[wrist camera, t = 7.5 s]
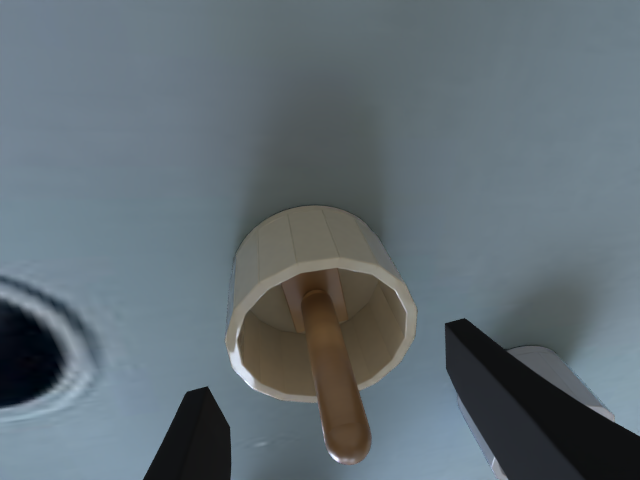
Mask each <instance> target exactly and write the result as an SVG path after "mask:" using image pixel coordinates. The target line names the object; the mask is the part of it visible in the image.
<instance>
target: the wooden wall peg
mask: <svg viewBox="0 0 640 480" xmlns="http://www.w3.org/2000/svg"><path fill="white" fill-rule="evenodd" d="M281 286H282V289H283V292H284V295H285V299H286V302H287V305H288V308H289V311H290V314H291V317H292V321H293V324H294V327H295V330H296V332H297V333H300V332H304V331H305V333H306V339H307V344H308V350H309V356H310V361H311V367H312V373H313V378H314V384H315V390H316V395H317V401H318V407H319V412H320V418H321V424H322V429H323V435H324V441H325V445H326V449H327V450H328V452H329V454H330V456H331V457H332V458H333V459H334V460H336V461H337V462H339V463H341V464H344V465H354V464H357V463H359V462H361V461H362V460H363V459H364V458H365V457H366V456H367V454H368V453H369V451H370V448H371V443H372V436H371V431H370V427H369V424H368V420H367V417H366V414H365V410H364V407H363V403H362V400H361V397H360V393H359V390H358V386H357V383H356V380H355V376H354V373H353V369H352V366H351V363H350V359H349V356H348V352H347V349H346V345H345V342H344V339H343V335H342V332H341V328H340V325H339V322H342V321H346V320H348V319H349V318H348V313H347V308H346V303H345V299H344V294H343V289H342V284H341V280H340V275H339V270H338V268H333V269H326V270H319V271H313V272H306V273H300V274H298V275H296V276H294V277H292V278H290V279H288V280H286V281H284V282H282V283H281Z"/></svg>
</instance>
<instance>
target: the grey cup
mask: <svg viewBox="0 0 640 480" xmlns="http://www.w3.org/2000/svg"><path fill="white" fill-rule="evenodd" d="M507 352H509V353H510V354H511V355H513V356H514V357H515V358H517V359H518V360H519V361H521V362H522V363H524V364H525V365H526V366H528V367H529V368H530V369H532V370H533V371H535V372H536V373H537V374H539V375H540V376H542V377H543V378H545V379H546V380H547V381H549V382H550V383H552V384H553V385H555V386H556V387H558V388H559V389H561V390H562V391H564V392H565V393H567V394H568V395H570V396H572V397H573V398H575V399H576V400H578V401H579V402H581V403H583V404H584V405H586V406H588V407H589V408H591V409H592V410H594V411H596V412H598V413H599V414H601V415H603V416H604V417H606V418H608V419H609V420H611V421H613V422H615V417H614V414H613V413H612V412H611V411H610V410H609V409H608V408H607V407H606V406H605V405H604V404H603V402H602V401H601V400H600V399H599V398H598V397H597V396H596V395H595V394H594V393H593V392H592V391H591V389H590V388H589V387H588V386H587V385H586V384H585V383H584V382H583V381H582V380H581V379H580V378H579V376H578V375H577V374H576V373H575V372H574V371H573V370H572V369H571V368H570V367H569V366H568V365H567V363H565V362H564V361H563V360H562V359H561V358H560V357H559V356H558V355H557V354H556V353H555V352H554V351H552V350H550V349H548V348H545V347H541V346H523V347H518V348H513V349H510V350H507ZM457 402H458V407H459V409H460V411H461V413H462V415H463V417H464V419H465V421H466V423H467V425H468V427H469V428H470V430H471V432H472V434H473V436H474V438H475V440H476V441H477V443H478V445H479V447H480V449H481V451H482V453H483V454H484V456H485V458H486V460H487V462H488V464H489V466H490V468H491V469H492V471H493V473H494V475H495V477H496V478H497V479H500V480H508V478H507V476H506V475H505V473H504V471H503V470H502V468H501V466H500V465H499V463H498V461H497V460H496V458H495V457H494V455H493V453H492V452H491V450H490V448H489V447H488V445H487V443H486V442H485V440H484V438H483V437H482V435H481V433H480V432H479V430H478V429H477V427H476V425H475V424H474V422H473V420H472V419H471V417H470V415H469V414H468V412H467V410H466V408H465V407H464V405H463V403H462V402H461V400H460V398H459V395H458V397H457Z"/></svg>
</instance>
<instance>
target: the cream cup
mask: <svg viewBox="0 0 640 480" xmlns="http://www.w3.org/2000/svg"><path fill="white" fill-rule="evenodd" d="M333 268H338V270H339V275H340V280H341V284H342V289H343V294H344V299H345V303H346V308H347V313H348V318H349V319H348V320H346V321H342V322H339V325H340V328H341V332H342V335H343V339H344V342H345V345H346V349H347V352H348V356H349V359H350V363H351V366H352V369H353V373H354V376H355V380H356V383H357V386H358V390H359V391H361V390H363V389H365V388H367V387H369V386H372V385H374V384H376V383H377V382H378V381H380V380H381V379H382V378H383V377H384V376H386V375H387V374H388V373H389V372H390V371H391V370H393V369H394V368H395V367H396V366H397V365H398V364H400V362H401V361H402V359H403V357H404V356H405V354H406V352H407V351H408V349H409V347H410V345H411V344H412V342H413V340H414V339H415V333H416V322H417V307H416V305H415V303H414V301H413V299H412V296H411V294H410V292H409V290H408V288H407V286H406V284H405V282H404V280H403V279H402V277H401V275H400V274H399V272H398V270H397V269H396V267H395V265H394V263H393V262H392V260H391V258H390V257H389V255H388V253H387V252H386V250H385V248H384V246H383V245H382V243H381V241H380V240H379V238H378V236H377V235H376V234H375V233H374V232H373V231H372V229H371V228H370V227H369V226H368V225H367V224H366V223H365V222H363V221H362V220H361V219H359V218H358V217H356V216H355V215H353V214H351V213H349V212H347V211H344V210H341V209H338V208H334V207H328V206H317V205H312V206H301V207H296V208H291V209H288V210H285V211H282V212H279V213H277V214H275V215H273V216H271V217H269V218H268V219H266V220H264V221H263V222H261V223H260V224H259V225H258V226H256V227H255V228H254V229H253V230H252V231H251V232H250V233H249V234H248V235H247V236H246V238H245V239H244V240H243V242H242V243H241V245H240V247H239V248H238V250H237V252H236V255H235V258H234V261H233V266H232V273H231V277H230V283H229V295H228V307H227V320H226V332H225V344H226V347H227V351H228V355H229V359H230V362H231V366H232V368H233V369H234V371H235V372H236V373H237V374H238V375H239V376H240V377H241V378H242V379H243V380H244V381H245V382H246V383H247V384H248V385H249V386H250V387H251V388H253V389H254V390H257V391H259V392H261V393H264V394H266V395H269V396H271V397H273V398H276V399H278V400H282V401H293V402H305V403H317V402H318V401H317V395H316V390H315V384H314V378H313V373H312V367H311V361H310V356H309V350H308V344H307V339H306V333H305V331H304V332H300V333H297V332H296V330H295V327H294V324H293V321H292V317H291V314H290V311H289V308H288V305H287V302H286V299H285V295H284V292H283V289H282V286H281V283H282V282H284V281H286V280H288V279H290V278H292V277H294V276H296V275H298V274H300V273H306V272H313V271H319V270H326V269H333Z"/></svg>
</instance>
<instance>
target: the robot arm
mask: <svg viewBox="0 0 640 480" xmlns="http://www.w3.org/2000/svg"><path fill="white" fill-rule="evenodd" d="M445 343H446V369H447V372H448V374H449V376H450V378H451V381H452V383H453V385H454V387H455V389H456V391H457V393H458V395H459V398H460V400H461V402H462V403H463V405H464V407H465V408H466V410H467V412H468V414H469V415H470V417H471V419H472V420H473V422H474V424H475V425H476V427H477V429H478V430H479V432H480V433H481V435H482V437H483V438H484V440H485V442H486V443H487V445H488V447H489V448H490V450H491V452H492V453H493V455H494V457H495V458H496V460H497V461H498V463H499V465H500V466H501V468H502V470H503V471H504V473H505V475H506V476H507V478H508V480H640V436H638V435H636V434H634V433H633V432H631V431H629V430H627V429H625V428H624V427H622V426H620V425H618V424H616V423H615V422H613V421H611V420H609V419H608V418H606V417H604V416H603V415H601V414H599V413H598V412H596V411H594V410H592V409H591V408H589V407H588V406H586V405H584V404H583V403H581V402H579V401H578V400H576V399H575V398H573V397H572V396H570V395H568V394H567V393H565V392H564V391H562V390H561V389H559V388H558V387H556V386H555V385H553V384H552V383H550V382H549V381H547V380H546V379H545V378H543V377H542V376H540V375H539V374H537V373H536V372H535V371H533V370H532V369H530V368H529V367H528V366H526V365H525V364H524V363H522V362H521V361H519V360H518V359H517V358H515V357H514V356H513V355H511V354H510V353H509V352H507V351H506V350H505V349H503V348H502V347H501V346H500V345H498V344H497V343H496V342H494V341H493V340H492V339H491V338H489V337H488V336H487V335H486V334H484V333H483V332H482V331H481V330H479V329H478V328H477V327H476V326H474V325H473V324H472V323H471V322H470V321H468V320H467V319H465V318H464V319H460V320H456V321H452V322H449V323H445ZM230 477H231V439H230V426H229V424H228V423H227V421H226V419H225V417H224V415H223V414H222V412H221V410H220V408H219V406H218V404H217V403H216V401H215V399H214V397H213V395H212V393H211V392H210V390H209V388H208V386H207V387H203V388H199V389H196V390H192V391H188V392H187V393H186V394H185V396H184V398H183V400H182V402H181V404H180V406H179V408H178V411H177V413H176V415H175V417H174V419H173V421H172V423H171V425H170V427H169V430H168V432H167V434H166V436H165V438H164V440H163V442H162V444H161V446H160V448H159V450H158V452H157V454H156V456H155V458H154V460H153V461H152V463H151V465H150V467H149V469H148V471H147V473H146V475H145V477H144V479H143V480H230Z"/></svg>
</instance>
